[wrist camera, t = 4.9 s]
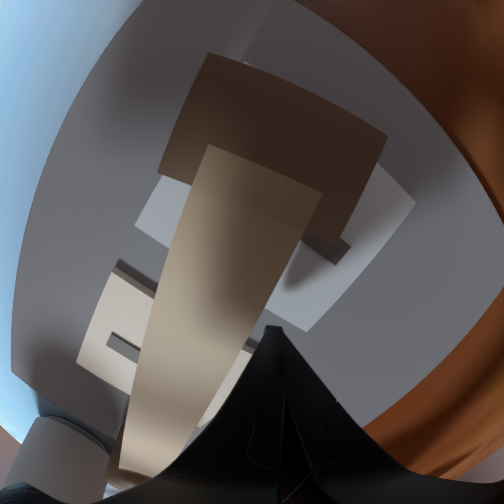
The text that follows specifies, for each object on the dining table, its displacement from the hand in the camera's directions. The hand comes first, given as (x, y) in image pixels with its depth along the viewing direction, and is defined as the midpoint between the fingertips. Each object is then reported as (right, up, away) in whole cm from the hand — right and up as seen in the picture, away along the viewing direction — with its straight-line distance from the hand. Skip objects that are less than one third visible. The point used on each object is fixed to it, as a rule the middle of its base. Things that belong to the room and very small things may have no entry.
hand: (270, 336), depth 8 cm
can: (-15, -13, +8) cm, 21 cm away
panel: (-2, -1, +3) cm, 4 cm away
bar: (-4, -2, +2) cm, 5 cm away
